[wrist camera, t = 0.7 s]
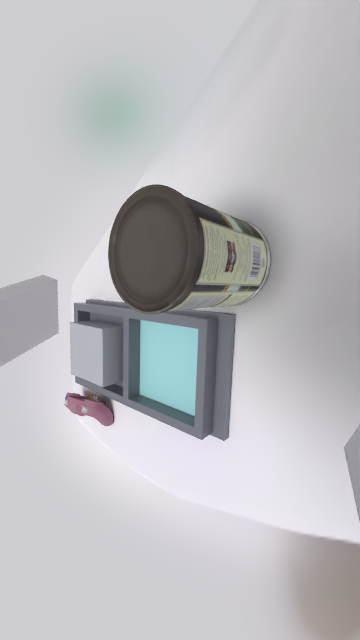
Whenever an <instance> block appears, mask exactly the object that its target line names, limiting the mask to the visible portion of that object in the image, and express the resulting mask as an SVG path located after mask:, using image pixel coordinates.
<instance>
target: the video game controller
mask: <svg viewBox="0 0 360 640" xmlns="http://www.w3.org/2000/svg"><path fill="white" fill-rule="evenodd" d="M97 399H99V398H98V397H96V396H93V398H92V397H91V396H88V397H84V396H81V395H79V394H75V393H67V395H66V398H65V404H64V405H66V407H67V408H69V409H70V410H71V412H73V413H75V414H78V415H80V416H84V415H88V416H91V417H94V418H95V419H97V420H98V421H99V422H100V423H101V424H103V425H104V426H110V425H111V424H112V423H113V414H112V412H111V411H110V410H109V408H108V407H106V406H105V403H104V402H101V401H98V400H97Z"/></svg>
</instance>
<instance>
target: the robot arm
mask: <svg viewBox="0 0 360 640" xmlns="http://www.w3.org/2000/svg"><path fill="white" fill-rule="evenodd" d="M57 295H58V294H57V280H56V279H53V278H50V277H47V276H45V275H42V276H38V277H35V278H32V279H29V280H25V281H22V282H19V283H16V284H12V285H9V286H6V287H3V288H0V366H2V365H4V364H6V363H7V362H9V361H11V360H13V359H14V358H16V357H18V356H19V355H21V354H23V353H25V352H26V351H28V350H30V349H31V348H33V347H35V346H36V345H38V344H40V343H42V342H44V341H45V340H47V339H49V338H50V337H52V336H54V335H56V334H57V333H58V296H57ZM344 450H345V455H346V460H347V464H348V469H349V474H350V478H351V483H352V488H353V492H354V497H355V502H356V506H357V511H358V516H359V520H360V425H359V427H358V428H357V430H356V431H355V432H354V434H353V435H352V437H351V438H350V440H349V441H348V442H347V444H346V445H345V447H344Z"/></svg>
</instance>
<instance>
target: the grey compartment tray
mask: <svg viewBox="0 0 360 640" xmlns="http://www.w3.org/2000/svg"><path fill="white" fill-rule="evenodd" d="M234 330H235V315H234V314H224V313H215V312H205V311H196V310H186V309H185V310H175V311H167V312H164V313H159V314H143V313H140V312H137V311H135V310H134V309H132V308H131V307H129V306H128V305H127V304H126V303H119V302H110V301H100V300H86V303H74V322H70V339H71V340H70V343H71V374H72V375H75V382H76V383H78V384H80V385H82V386H84V387H87V388H89V389H91V390H93V391H95V392H98V393H100V394H102V395H104V396H106V397H109V398H111V399H113V400H115V401H117V402H120V403H122V404H124V405H126V406H128V407H131V408H133V409H135V410H137V411H139V412H142V413H144V414H146V415H148V416H150V417H153V418H155V419H157V420H159V421H161V422H164V423H166V424H168V425H170V426H172V427H175V428H177V429H179V430H181V431H183V432H186V433H188V434H190V435H192V436H194V437H196V438H199V439H201V440H202V439H204V438H205V437H206V436H208V435H212V436H214V437H216V438H219V439H221V440H223V441H225V440H226V439H227V438H228V431H229V414H230V398H231V381H232V364H233V347H234Z"/></svg>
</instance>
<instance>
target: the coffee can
mask: <svg viewBox="0 0 360 640" xmlns="http://www.w3.org/2000/svg"><path fill="white" fill-rule="evenodd" d="M108 259H109V268H110V273H111V277H112V280H113V283H114V286H115V288H116V290H117V292H118V294H119V295H120V297H121V298H122V300H123V301H124V302H125V303H126V304H127V305H128V306H129V307H131V308H132V309H134V310H135V311H137V312H140V313H143V314H159V313H164V312H167V311H175V310H185V309H196V308H207V307H217V306H235V305H239V304H242V303H245V302H247V301H248V300H250V299H251V298H253V297H254V296H255V295H256V294H257V293H258V292H259V291H260V290H261V288H262V287H263V285H264V283H265V281H266V279H267V277H268V273H269V269H270V261H271V260H270V250H269V246H268V243H267V241H266V239H265V237H264V235H263V234H262V233H261V232H260V230H259V229H258V228H256V227H255V226H254V225H252V224H250V223H248V222H245V221H241V220H239V219H237V218H234V217H232V216H229V215H227V214H225V213H223V212H220V211H218V210H215V209H213V208H211V207H209V206H206V205H204V204H202V203H199V202H197V201H195V200H192V199H190V198H188V197H185V196H183V195H182V194H181V193H179V192H178V191H176V190H174V189H172V188H170V187H168V186H164V185H149V186H145V187H143V188H141V189H139V190H137V191H136V192H135V193H133V194H132V195H131V196H130V197H129V198H128V199H127V200H126V202H125V203H124V204H123V205H122V207H121V208H120V210H119V212H118V214H117V216H116V218H115V221H114V224H113V227H112V230H111V234H110V240H109V250H108Z"/></svg>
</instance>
